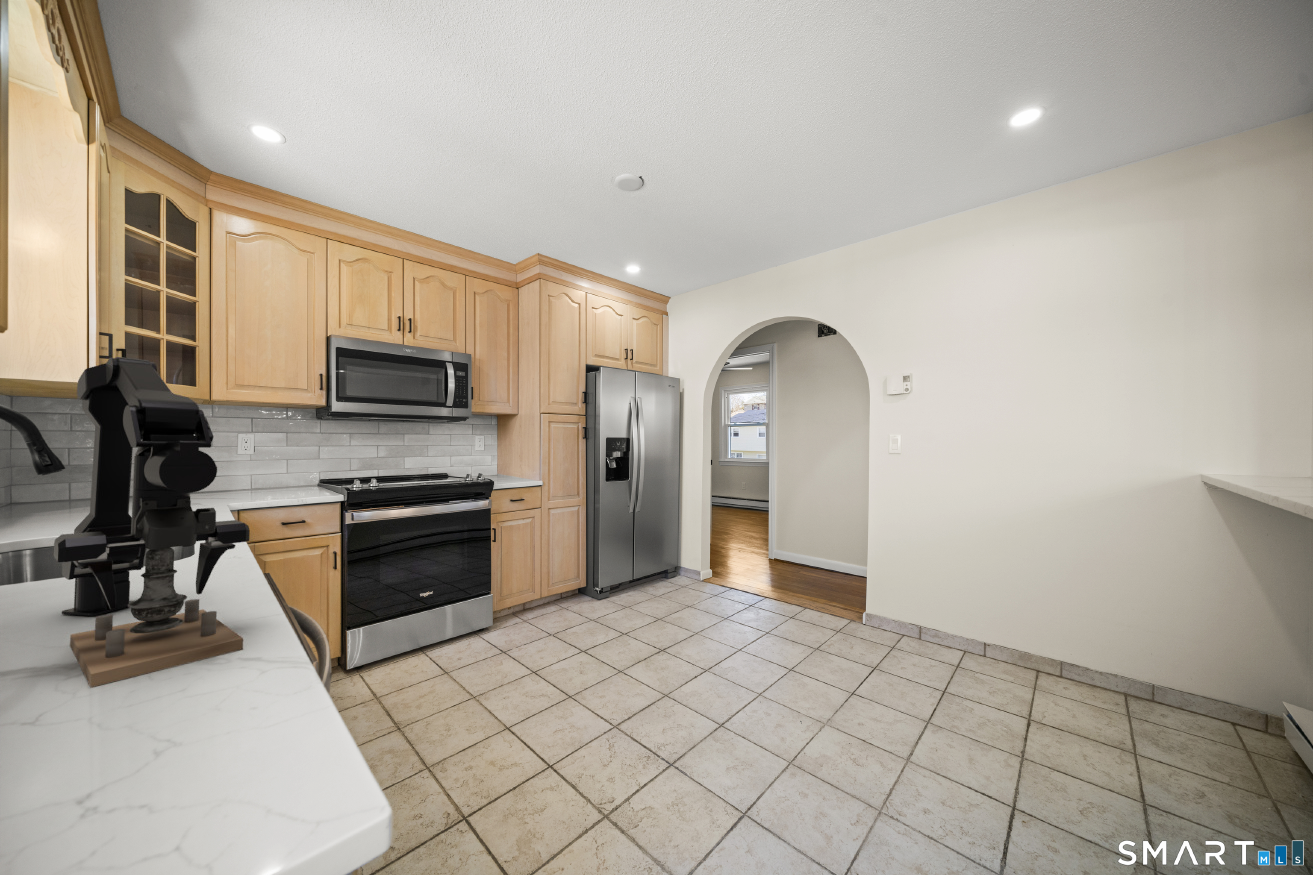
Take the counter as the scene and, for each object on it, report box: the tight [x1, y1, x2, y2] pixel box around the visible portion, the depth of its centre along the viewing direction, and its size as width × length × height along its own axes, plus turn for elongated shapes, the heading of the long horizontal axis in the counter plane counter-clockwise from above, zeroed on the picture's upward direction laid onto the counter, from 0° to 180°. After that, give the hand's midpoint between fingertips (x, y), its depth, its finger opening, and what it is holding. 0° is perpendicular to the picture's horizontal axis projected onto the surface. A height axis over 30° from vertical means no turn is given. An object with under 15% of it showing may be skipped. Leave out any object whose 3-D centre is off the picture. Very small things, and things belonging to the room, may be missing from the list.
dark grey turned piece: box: [127, 547, 188, 633], centre depth 69 cm, size 6×6×12 cm
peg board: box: [69, 598, 244, 688], centre depth 69 cm, size 20×14×4 cm
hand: (157, 600), depth 69 cm, fingers closed on dark grey turned piece, 8 cm apart
